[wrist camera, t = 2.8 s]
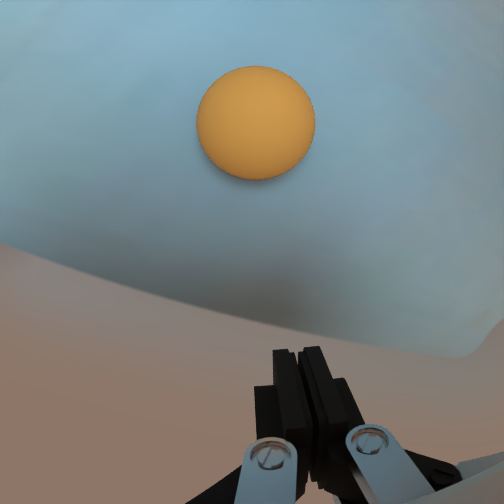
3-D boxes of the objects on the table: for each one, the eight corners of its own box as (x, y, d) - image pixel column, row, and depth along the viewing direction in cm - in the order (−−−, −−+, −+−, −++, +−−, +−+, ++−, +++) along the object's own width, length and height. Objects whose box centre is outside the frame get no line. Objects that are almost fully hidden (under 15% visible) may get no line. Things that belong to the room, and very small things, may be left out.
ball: (205, 181, 19) (192, 187, 13) (201, 86, 17) (186, 53, 11) (304, 176, 19) (332, 180, 13) (298, 82, 17) (323, 50, 12)
